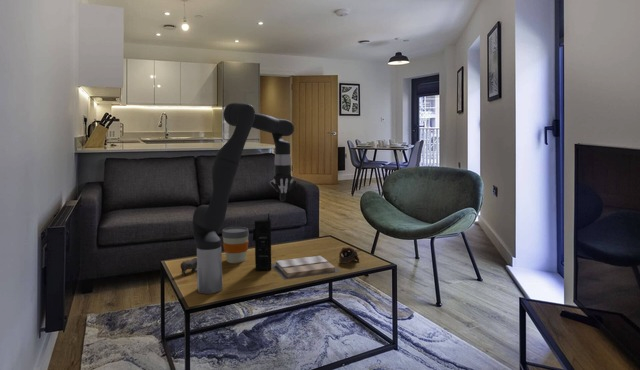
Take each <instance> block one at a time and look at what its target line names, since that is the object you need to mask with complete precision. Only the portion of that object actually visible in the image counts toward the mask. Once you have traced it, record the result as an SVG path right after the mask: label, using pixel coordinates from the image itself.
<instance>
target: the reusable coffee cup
mask: <svg viewBox="0 0 640 370" xmlns="http://www.w3.org/2000/svg"><path fill="white" fill-rule="evenodd" d="M221 232H222V234H221V237H222V240H223V241H222V245H223V251H224V253H225V259H226V262H227V263H230V264H239V263H241V262H242V263H243V262H245V261H246V260H247V252H248V249H249V236H250V233H249V228H248V227H243V226H230V227H229V226H228V227H225V228H223V229H222V231H221Z"/></svg>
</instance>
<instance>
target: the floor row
mask: <svg viewBox="0 0 640 370" xmlns="http://www.w3.org/2000/svg"><path fill="white" fill-rule="evenodd" d="M335 268H336V266H334V265H333V264H332V263H330V262H328V263H321V264H313V265H305V266H298V267H290V268H283V273H284V274H285V275H286V276H287V277H295V276H302V275H310V274H317V273H324V272H332V271H335Z"/></svg>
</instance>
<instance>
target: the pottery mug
mask: <svg viewBox="0 0 640 370" xmlns="http://www.w3.org/2000/svg"><path fill="white" fill-rule="evenodd" d="M338 255H339V257H338V258H339V260H338V262H339V264H340V265H341V264H343V263H344V264H346V263H349V262H353V261H357V263H360V258H359V254H358V252H357V251H356V250H355V249H354V248H353V247H349V246H348V247H343V248H341V250H340V252H339V254H338Z"/></svg>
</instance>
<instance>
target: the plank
mask: <svg viewBox="0 0 640 370" xmlns="http://www.w3.org/2000/svg"><path fill="white" fill-rule="evenodd" d="M321 263H329V261H328V260H327V259H326V258H324V257H323V256H322V255H314V256H307V257H306V256H305V257H297V258H290V259H282V260H280V259H279V260H275V264H276V265H277V266H278V268H279V269H280V270H281V271H283V268H290V267H298V266H305V265H313V264H321Z"/></svg>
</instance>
